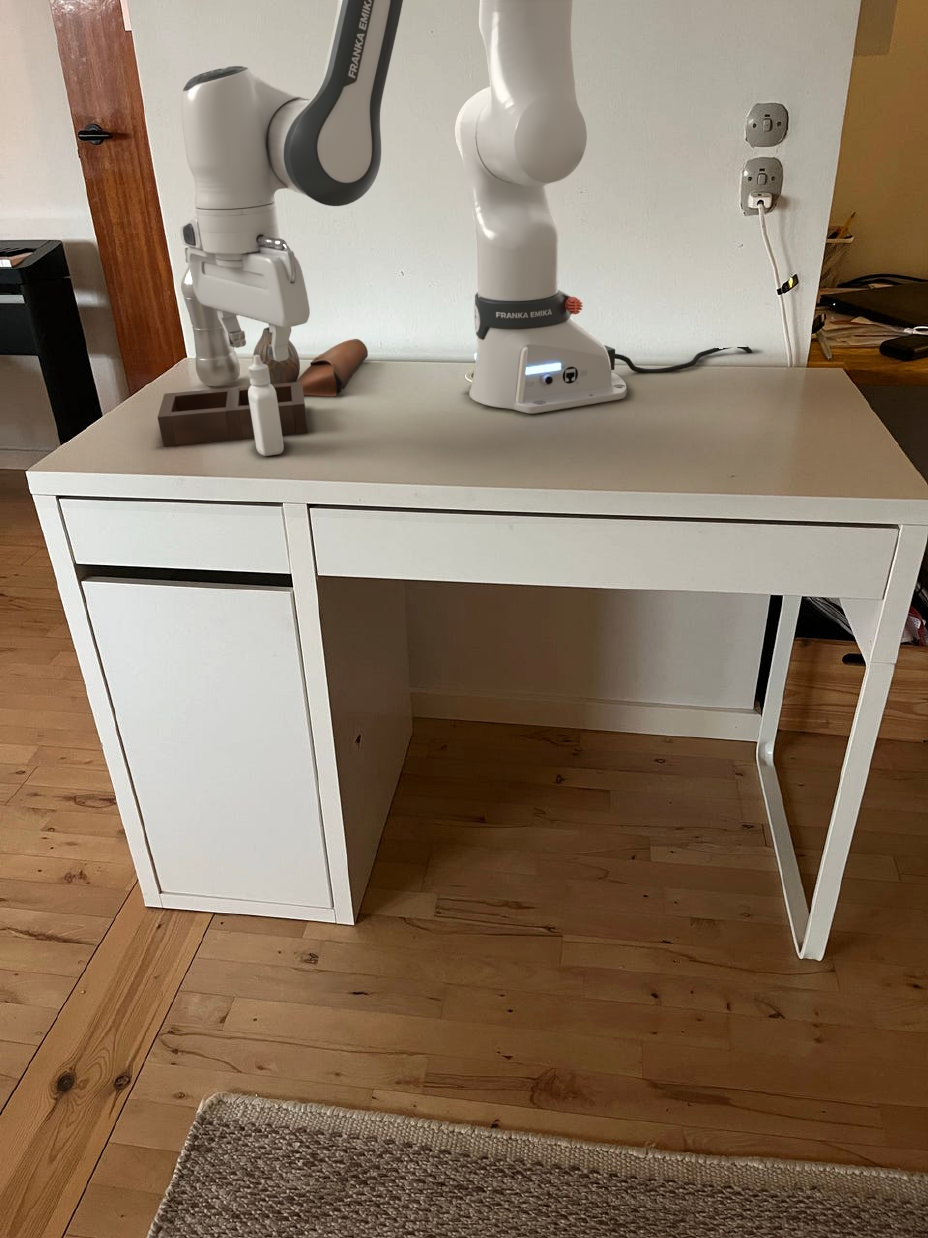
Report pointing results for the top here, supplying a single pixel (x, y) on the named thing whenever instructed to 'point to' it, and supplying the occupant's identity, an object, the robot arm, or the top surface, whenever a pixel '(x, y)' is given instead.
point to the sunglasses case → (333, 369)
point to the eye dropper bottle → (264, 410)
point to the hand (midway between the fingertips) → (257, 352)
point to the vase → (278, 369)
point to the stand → (225, 414)
